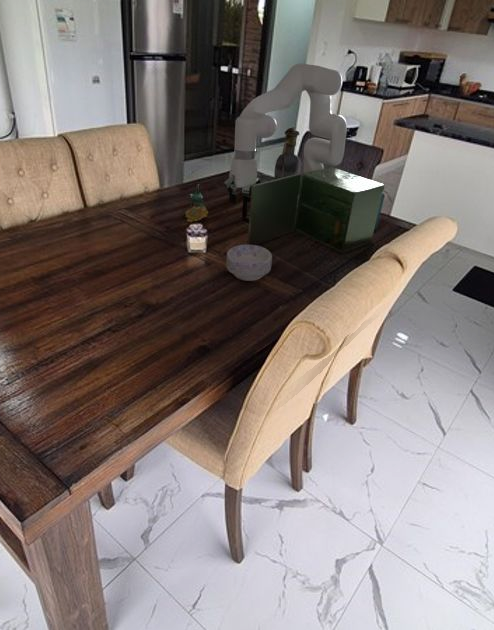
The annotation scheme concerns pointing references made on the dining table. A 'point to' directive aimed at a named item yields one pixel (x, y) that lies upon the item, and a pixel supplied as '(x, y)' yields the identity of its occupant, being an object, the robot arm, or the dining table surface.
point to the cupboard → (337, 208)
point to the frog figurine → (199, 211)
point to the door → (271, 209)
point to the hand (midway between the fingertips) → (242, 200)
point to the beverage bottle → (379, 211)
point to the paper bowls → (248, 262)
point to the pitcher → (288, 156)
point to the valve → (338, 227)
